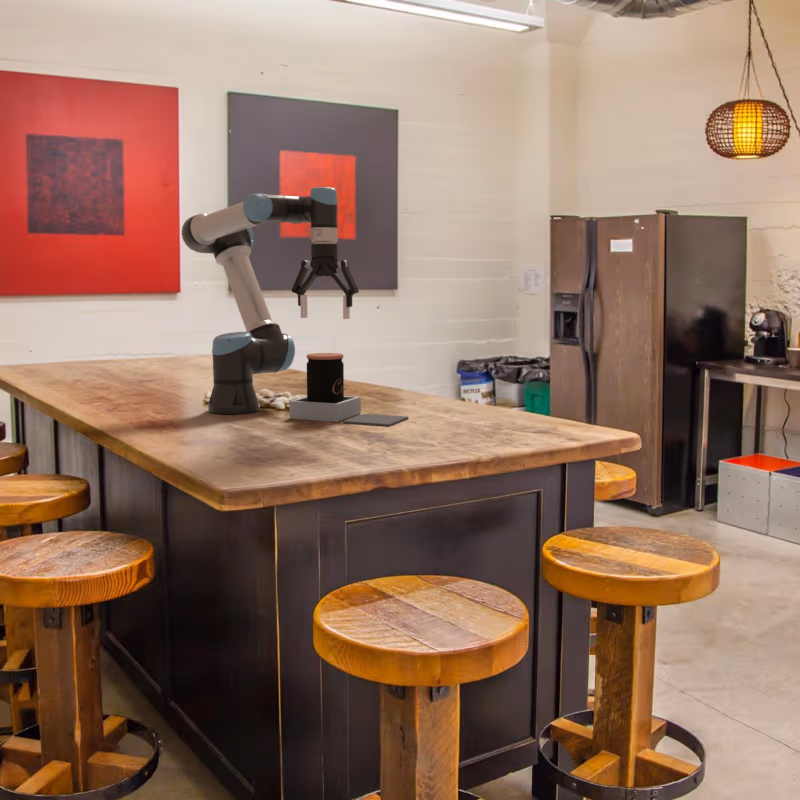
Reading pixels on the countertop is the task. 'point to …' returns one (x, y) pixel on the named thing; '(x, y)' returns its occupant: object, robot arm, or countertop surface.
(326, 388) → the coffee jar
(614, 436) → the countertop surface
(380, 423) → the pad
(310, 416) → the pocket frame
